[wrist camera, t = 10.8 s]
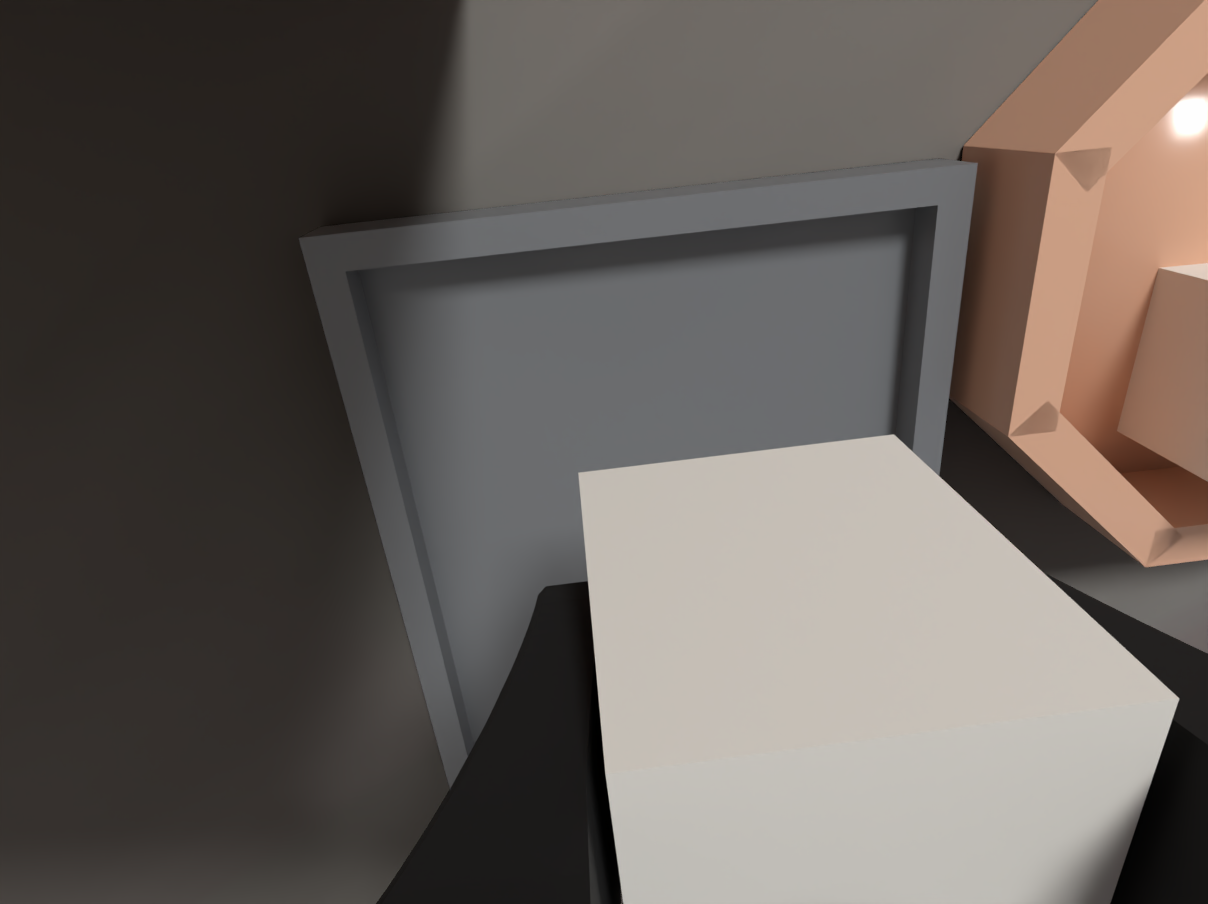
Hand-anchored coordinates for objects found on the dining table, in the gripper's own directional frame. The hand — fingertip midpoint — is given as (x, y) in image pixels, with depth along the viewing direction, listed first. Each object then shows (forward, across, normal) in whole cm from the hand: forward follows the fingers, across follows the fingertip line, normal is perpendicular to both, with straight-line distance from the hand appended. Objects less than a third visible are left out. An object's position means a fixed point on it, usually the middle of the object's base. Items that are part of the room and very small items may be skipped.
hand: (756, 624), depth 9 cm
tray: (+9, 0, +4) cm, 9 cm away
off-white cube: (+1, 0, 0) cm, 1 cm away
